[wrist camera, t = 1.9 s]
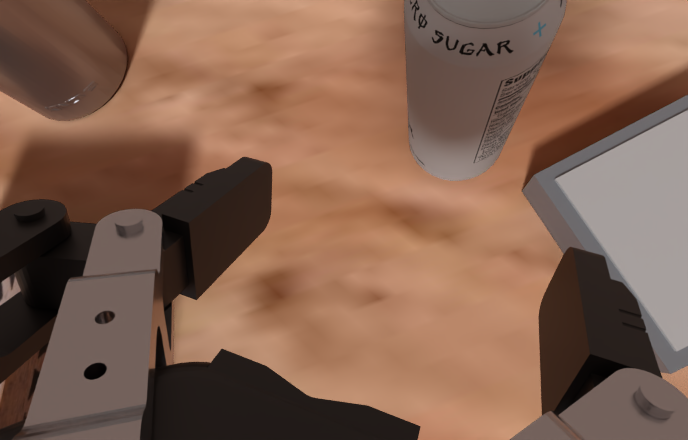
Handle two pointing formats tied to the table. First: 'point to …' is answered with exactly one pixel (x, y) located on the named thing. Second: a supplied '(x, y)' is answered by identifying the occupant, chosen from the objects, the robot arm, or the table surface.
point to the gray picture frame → (631, 218)
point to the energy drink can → (471, 76)
